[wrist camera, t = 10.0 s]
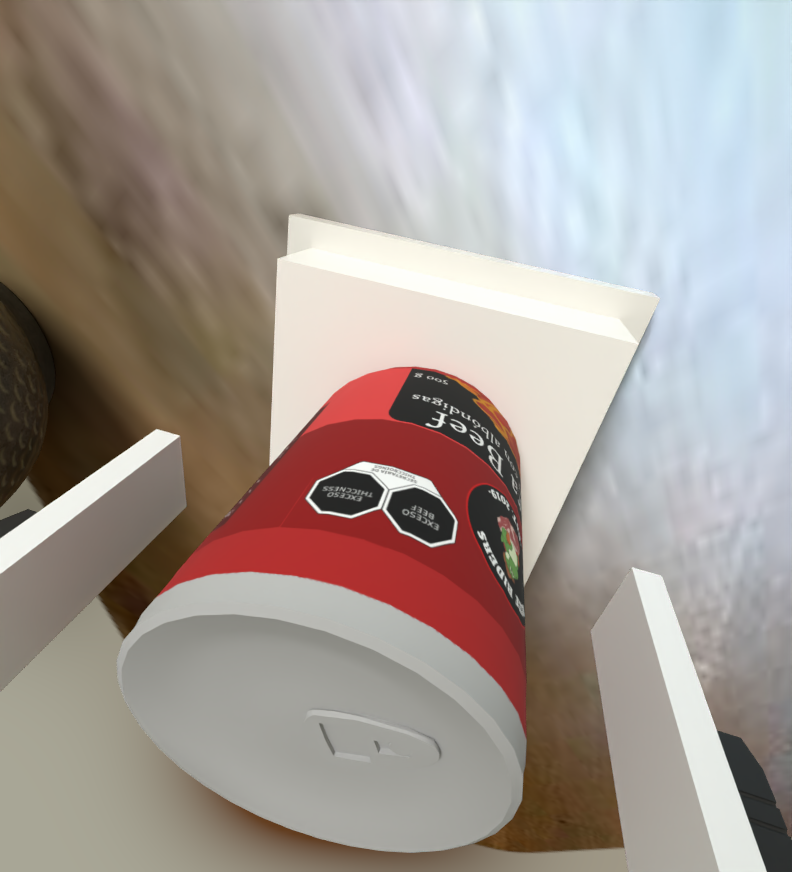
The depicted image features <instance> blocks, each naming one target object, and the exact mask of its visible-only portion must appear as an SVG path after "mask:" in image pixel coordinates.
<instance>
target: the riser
mask: <svg viewBox="0 0 792 872" xmlns="http://www.w3.org/2000/svg"><path fill="white" fill-rule="evenodd" d="M659 300H660V298H659V297H658V296H656V295H655V294H654V293H652V292H647V291H643V290H638V289H634V288H629V287H625V286H620V285H616V284H612V283H607V282H603V281H598V280H594V279H589V278H585V277H580V276H576V275H571V274H567V273H562V272H558V271H554V270H549V269H545V268H540V267H536V266H531V265H527V264H522V263H518V262H513V261H509V260H504V259H500V258H496V257H491V256H487V255H482V254H478V253H473V252H469V251H464V250H460V249H455V248H451V247H446V246H442V245H437V244H433V243H429V242H424V241H420V240H415V239H411V238H406V237H402V236H397V235H393V234H388V233H384V232H379V231H375V230H371V229H366V228H362V227H357V226H353V225H348V224H344V223H339V222H335V221H330V220H326V219H321V218H317V217H313V216H308V215H304V214H293V215H289V227H288V247H287V256H284V257H281V258H278V260H277V286H276V312H275V338H274V364H273V389H272V415H271V441H270V465H271V464H272V463H273V462H274V461H275V459H276V458H277V457H278V456H279V455H280V454H281V453H282V452H283V450H284V449H285V448H286V447H287V446H288V445H289V444H290V442H291V441H292V440H293V439H294V438H295V437H296V436H297V435H298V433H299V432H300V431H301V430H302V429H303V428H304V427H305V425H306V424H307V423H308V422H309V421H310V420H311V419H312V418H313V416H314V415H315V414H316V413H317V412H318V411H319V410H320V408H321V407H322V406H323V405H324V404H325V403H326V402H327V401H328V399H329V398H330V397H331V396H332V395H333V394H334V393H335V392H336V391H338V390H339V389H340V388H342V387H343V386H344V385H346V384H347V383H348V382H350V381H352V380H355V379H357V378H359V377H361V376H364V375H366V374H368V373H372V372H376V371H381V370H385V369H389V368H394V367H415V366H416V367H423V368H429V369H436V370H439V371H442V372H445V373H448V374H451V375H454V376H456V377H458V378H460V379H462V380H464V381H465V382H467V383H469V384H471V385H473V386H474V387H475V388H477V389H478V390H479V391H480V392H481V393H483V394H484V395H485V396H486V397H487V398H489V399H490V401H491V402H492V403H493V404H494V406H495V407H496V408H497V409H498V411H499V412H500V413H501V414H502V416H503V417H504V418H505V419H506V421H507V422H508V424H509V426H510V428H511V430H512V432H513V434H514V436H515V439H516V442H517V446H518V451H519V455H520V473H521V508H522V542H523V577H524V586H525V584H526V582H527V580H528V577H529V575H530V573H531V571H532V569H533V567H534V565H535V563H536V561H537V559H538V557H539V554H540V552H541V550H542V548H543V546H544V544H545V542H546V540H547V538H548V535H549V533H550V531H551V529H552V527H553V525H554V523H555V521H556V518H557V516H558V514H559V512H560V510H561V508H562V506H563V504H564V501H565V499H566V497H567V495H568V493H569V491H570V489H571V487H572V485H573V482H574V480H575V478H576V476H577V474H578V472H579V470H580V468H581V465H582V463H583V461H584V459H585V457H586V455H587V453H588V451H589V449H590V446H591V444H592V442H593V440H594V438H595V436H596V434H597V432H598V429H599V427H600V425H601V423H602V421H603V419H604V417H605V415H606V412H607V410H608V408H609V406H610V404H611V402H612V400H613V398H614V396H615V393H616V391H617V389H618V387H619V385H620V383H621V381H622V379H623V376H624V374H625V372H626V370H627V368H628V366H629V364H630V362H631V360H632V357H633V355H634V353H635V351H636V349H637V347H638V345H639V343H640V340H641V338H642V336H643V334H644V332H645V330H646V328H647V326H648V323H649V321H650V319H651V317H652V315H653V313H654V311H655V309H656V307H657V304H658V302H659Z"/></svg>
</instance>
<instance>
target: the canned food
mask: <svg viewBox="0 0 792 872" xmlns="http://www.w3.org/2000/svg"><path fill="white" fill-rule="evenodd" d="M117 676H118V683H119V686H120V688H121V692H122V694H123V697H124V700H125V703H126V704H127V706H128V708H129V709H130V711H131V712H132V714H133V716H134V717H135V719H136V720H137V722H138V724H139V725H140V726H141V728H142V729H143V730H144V732H145V733H146V734H147V735H148V736H149V737H150V738H151V740H152V741H153V742H154V743H155V744H156V745H157V746H158V748H159V749H160V750H161V751H162V752H163V753H165V754H166V755H167V756H168V757H169V758H170V759H171V760H172V761H173V762H175V763H176V764H177V765H178V766H179V767H180V768H181V769H183V770H184V771H185V772H187V773H188V774H189V775H191V776H192V777H193V778H195V779H196V780H198V781H199V782H200V783H202V784H203V785H204V786H206V787H208V788H209V789H211V790H213V791H214V792H216V793H218V794H219V795H221V796H222V797H224V798H226V799H228V800H229V801H231V802H232V803H235V804H236V805H238V806H240V807H242V808H244V809H246V810H248V811H250V812H252V813H254V814H256V815H258V816H260V817H263V818H265V819H268V820H270V821H272V822H275V823H277V824H279V825H282V826H284V827H287V828H289V829H292V830H295V831H298V832H302V833H304V834H308V835H311V836H313V837H317V838H320V839H324V840H328V841H332V842H336V843H340V844H344V845H348V846H353V847H360V848H367V849H373V850H379V851H392V852H410V853H413V852H428V851H441V850H447V849H451V848H456V847H461V846H465V845H470V844H474V843H476V842H478V841H480V840H482V839H485V838H487V837H489V836H491V835H493V834H496V833H497V832H498V831H499V830H500V829H501V828H502V827H504V826H505V825H506V824H507V823H508V822H509V821H510V820H512V819H513V817H514V815H515V813H516V811H517V809H518V807H519V805H520V803H521V801H522V791H523V773H524V768H525V763H526V742H527V737H526V683H527V680H526V646H525V611H524V577H523V542H522V508H521V473H520V455H519V451H518V446H517V442H516V439H515V436H514V434H513V432H512V430H511V428H510V426H509V424H508V422H507V421H506V419H505V418H504V417H503V416H502V414H501V413H500V412H499V411H498V409H497V408H496V407H495V406H494V404H493V403H492V402H491V401H490V399H489V398H487V397H486V396H485V395H484V394H483V393H481V392H480V391H479V390H478V389H477V388H475V387H474V386H473V385H471V384H469V383H467V382H465V381H464V380H462V379H460V378H458V377H456V376H454V375H451V374H448V373H445V372H442V371H439V370H436V369H429V368H423V367H416V366H415V367H394V368H389V369H385V370H381V371H376V372H372V373H368V374H366V375H364V376H361V377H359V378H357V379H355V380H352V381H350V382H348V383H347V384H346V385H344V386H343V387H342V388H340V389H339V390H338V391H336V392H335V393H334V394H333V395H332V396H331V397H330V398H329V399H328V401H327V402H326V403H325V404H324V405H323V406H322V407H321V408H320V410H319V411H318V412H317V413H316V414H315V415H314V416H313V418H312V419H311V420H310V421H309V422H308V423H307V424H306V425H305V427H304V428H303V429H302V430H301V431H300V432H299V433H298V435H297V436H296V437H295V438H294V439H293V440H292V441H291V442H290V444H289V445H288V446H287V447H286V448H285V449H284V450H283V452H282V453H281V454H280V455H279V456H278V457H277V458H276V459H275V461H274V462H273V463H272V464H271V465H270V466H269V467H268V469H267V470H266V471H265V472H264V473H263V474H262V475H261V476H260V478H259V479H258V480H257V481H256V482H255V483H254V484H253V486H252V487H251V488H250V489H249V490H248V491H247V492H246V494H245V495H244V496H243V497H242V498H241V499H240V500H239V501H238V503H237V504H236V505H235V506H234V507H233V508H232V509H231V511H230V512H229V513H228V514H227V515H226V516H225V517H224V518H223V520H222V521H221V522H220V523H219V524H218V525H217V526H216V528H215V529H214V530H213V531H212V532H211V533H210V534H209V535H208V537H207V538H206V539H205V540H204V541H203V542H202V543H201V545H200V546H199V547H198V548H197V549H196V550H195V551H194V552H193V554H192V555H191V556H190V557H189V558H188V559H187V561H186V562H185V563H184V564H183V565H182V567H181V568H180V569H179V570H178V571H177V572H176V574H175V575H174V577H173V578H172V579H171V581H170V582H169V583H168V584H167V585H166V586H165V588H164V589H163V590H162V591H161V592H160V593H159V594H158V596H157V597H156V598H155V599H154V600H153V601H152V603H151V604H150V605H149V606H148V607H147V608H146V610H145V611H144V612H143V613H142V614H141V616H140V618H139V620H138V622H137V624H136V626H135V628H134V629H133V630H132V631H131V632H130V633H129V635H128V636H127V637H126V638H125V639H124V640H123V642H122V646H121V649H120V652H119V655H118V658H117Z"/></svg>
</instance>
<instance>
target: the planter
mask: <svg viewBox="0 0 792 872" xmlns="http://www.w3.org/2000/svg"><path fill="white" fill-rule="evenodd" d="M54 388H55V367H54V362H53V358H52V354H51V351H50V348H49V346H48V343H47V341H46V339H45V337H44V335H43V333H42V331H41V329H40V327H39V326H38V324H37V322H36V321H35V319H34V318H33V316H32V315H31V314H30V312H29V311H28V310H27V309H26V307H25V306H24V305H23V304H22V302H21V301H20V300H19V299H18V298H17V297H16V296H15V295H14V294H13V293H12V292H11V291H10V290H9V289H8V288H7V287H5V286H4V285H3V284H2V283H1V282H0V507H1V506H2V505H3V504H4V503H5V502H6V501H7V500H8V499H9V498H10V497H11V496H12V495H13V493H15V492H16V490H17V489H18V488H19V487H20V485H21V484H22V483H23V481H24V480H25V479H26V477H27V476H28V474H29V473H30V471H31V469H32V468H33V466H34V464H35V462H36V460H37V459H38V457H39V454H40V451H41V448H42V445H43V441H44V437H45V433H46V429H47V422H48V404H49V402H50V400H51V398H52V396H53V392H54Z"/></svg>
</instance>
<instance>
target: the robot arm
mask: <svg viewBox="0 0 792 872" xmlns="http://www.w3.org/2000/svg"><path fill="white" fill-rule="evenodd" d="M186 507H187V504H186V494H185V483H184V473H183V462H182V452H181V441H180V436H179V435H175V434H172V433H168V432H165V431H161V430H158V429H156V430H155V431H153V432H152V433H150V434H149V435H148V436H146V437H145V438H143V439H142V440H140V441H139V442H138V443H136V444H135V445H133V446H132V447H130V448H129V449H127V450H126V451H125V452H123V453H122V454H120V455H119V456H117V457H116V458H115V459H113V460H112V461H110V462H109V463H107V464H106V465H105V466H103V467H102V468H100V469H99V470H97V471H96V472H95V473H93V474H92V475H90V476H89V477H87V478H86V479H85V480H83V481H82V482H80V483H79V484H77V485H76V486H75V487H73V488H72V489H70V490H69V491H67V492H66V493H65V494H63V495H62V496H60V497H59V498H57V499H56V500H55V501H53V502H52V503H50V504H49V505H47V506H46V507H45V508H43V509H42V510H40V511H39V512H35V511H32V510H29V509H27V510H25V511H22V512H20V513H17V514H15V515H12V516H10V517H7V518H5V519H2V520H0V692H1V691H2V690H3V689H4V688H5V687H6V686H7V685H8V684H9V683H10V682H11V681H12V680H13V679H14V678H15V677H16V676H17V675H18V674H19V673H20V672H21V671H22V670H23V668H25V667H26V666H27V665H28V664H29V663H30V662H31V661H32V660H33V659H34V658H35V657H36V656H37V655H38V654H39V653H40V652H41V651H42V650H43V649H44V648H45V647H46V646H47V645H48V644H49V643H50V642H51V641H52V640H53V639H54V638H55V637H56V636H57V635H58V634H59V633H60V632H61V631H62V630H63V629H64V628H65V627H66V626H67V625H68V624H69V623H70V622H71V621H72V620H73V619H74V618H75V617H76V616H77V615H78V614H79V613H80V612H81V611H82V610H83V609H84V608H85V607H86V606H87V605H88V604H89V603H90V602H91V601H92V600H93V599H94V598H95V597H96V596H97V595H98V594H99V593H100V592H101V591H102V590H103V589H104V588H105V587H106V586H107V585H108V584H109V583H110V582H111V581H112V580H113V579H114V578H115V577H116V576H117V575H118V574H119V573H120V572H121V571H122V570H123V569H124V568H125V567H126V566H127V565H128V564H129V563H130V562H131V561H132V560H133V559H134V558H135V557H136V556H137V555H138V554H139V553H140V552H141V551H142V550H143V549H144V548H145V547H146V546H147V545H148V544H149V543H150V542H151V541H152V540H153V539H154V538H155V537H156V536H157V535H158V534H159V533H160V532H161V531H162V530H164V529H165V528H166V527H167V526H168V525H169V524H170V523H171V522H172V521H173V520H174V519H175V518H176V517H177V516H178V515H179V514H180V513H181V512H182V511H183V510H184V509H185V508H186ZM591 636H592V643H593V649H594V656H595V662H596V668H597V675H598V681H599V687H600V694H601V700H602V707H603V713H604V719H605V726H606V732H607V739H608V745H609V751H610V758H611V764H612V771H613V777H614V783H615V790H616V796H617V803H618V809H619V815H620V822H621V828H622V834H623V841H624V847H625V854H626V860H627V866H628V872H792V840H791V837H789V836H788V835H787V827H786V825H785V822H784V820H783V818H782V815H781V813H780V810H779V809H778V808H776V805H775V804H776V800H775V798H774V796H773V793H772V791H771V788H770V786H769V783H768V781H767V779H766V776H765V774H764V771H763V769H762V768H761V766H760V765H759V763H758V762H757V760H756V759H755V758H754V756H753V755H752V753H751V752H750V750H749V749H748V748H747V746H746V745H745V743H744V742H743V741H742V739H741V738H739V737H736V736H733V735H730V734H726V733H723V732H720V731H717V730H716V727H715V725H714V722H713V719H712V716H711V713H710V710H709V708H708V705H707V702H706V699H705V696H704V694H703V691H702V688H701V685H700V682H699V680H698V677H697V674H696V671H695V668H694V665H693V663H692V660H691V657H690V654H689V651H688V649H687V646H686V643H685V640H684V637H683V634H682V632H681V629H680V626H679V623H678V620H677V618H676V615H675V612H674V609H673V606H672V604H671V601H670V598H669V595H668V592H667V589H666V587H665V584H664V581H663V578H662V576H660V575H657V574H653V573H650V572H647V571H643V570H640V569H636V568H633V567H632V568H631V570H630V571H629V573H628V574H627V576H626V577H625V579H624V580H623V582H622V583H621V585H620V587H619V588H618V590H617V591H616V593H615V594H614V596H613V597H612V599H611V600H610V602H609V604H608V605H607V607H606V608H605V610H604V611H603V613H602V614H601V616H600V617H599V619H598V621H597V622H596V624H595V625H594V627H593V628H592V630H591Z"/></svg>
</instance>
